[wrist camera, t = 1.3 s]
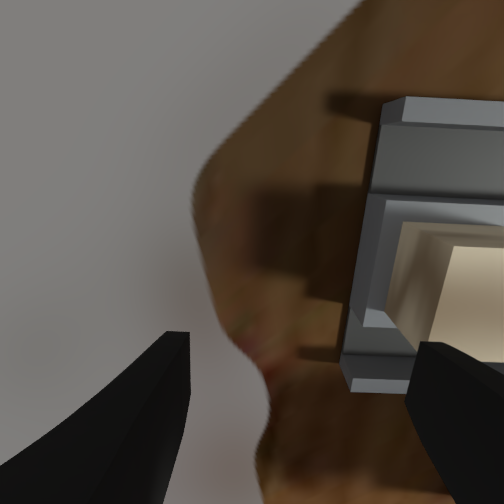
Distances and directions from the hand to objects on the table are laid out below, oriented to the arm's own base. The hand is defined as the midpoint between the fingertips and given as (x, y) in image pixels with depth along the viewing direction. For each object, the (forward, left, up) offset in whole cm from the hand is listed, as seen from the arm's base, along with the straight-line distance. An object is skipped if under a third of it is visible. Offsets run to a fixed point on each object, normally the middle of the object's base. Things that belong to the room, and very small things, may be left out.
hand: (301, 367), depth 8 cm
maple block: (0, -9, -8) cm, 12 cm away
